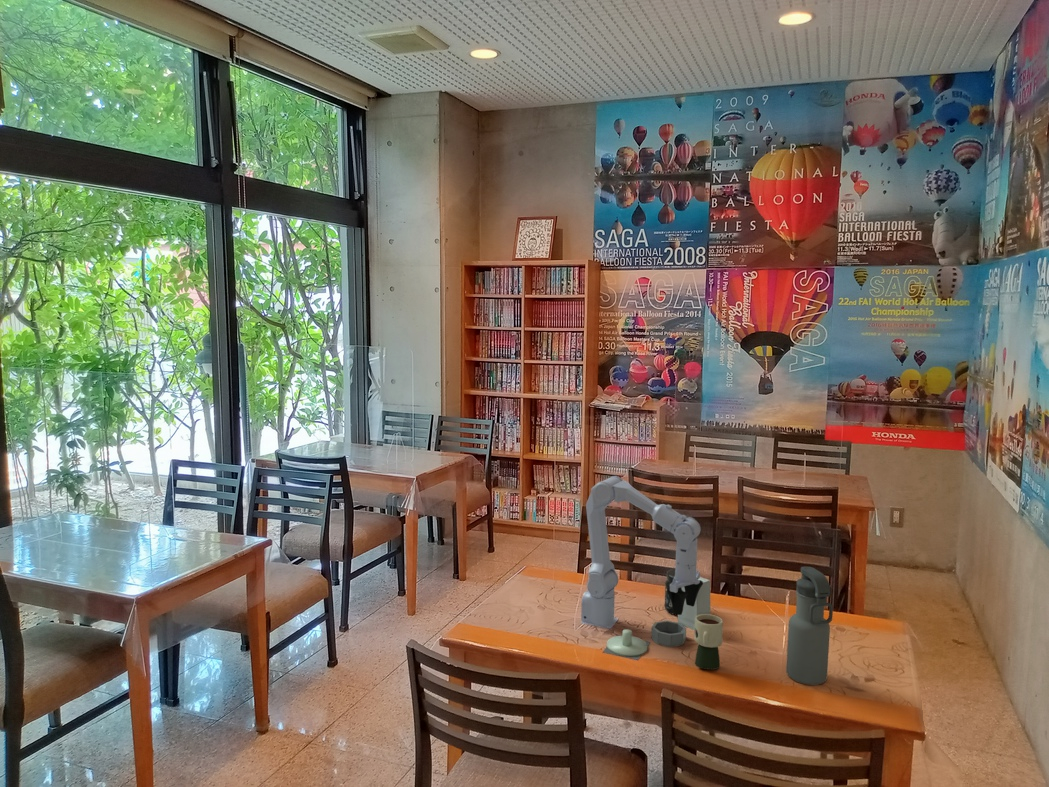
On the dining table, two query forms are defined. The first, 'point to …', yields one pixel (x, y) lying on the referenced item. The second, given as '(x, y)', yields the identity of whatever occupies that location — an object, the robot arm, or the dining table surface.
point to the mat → (625, 656)
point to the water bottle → (809, 630)
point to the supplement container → (668, 602)
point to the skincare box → (696, 606)
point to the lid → (627, 644)
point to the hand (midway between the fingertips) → (684, 609)
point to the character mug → (708, 640)
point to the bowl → (668, 633)
